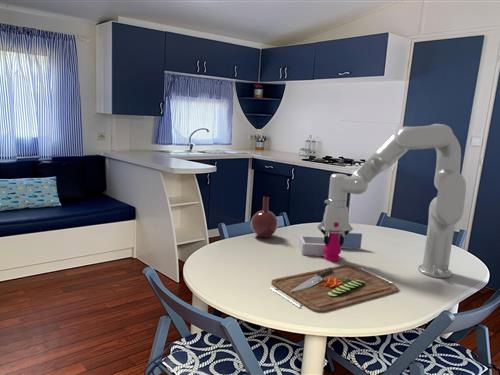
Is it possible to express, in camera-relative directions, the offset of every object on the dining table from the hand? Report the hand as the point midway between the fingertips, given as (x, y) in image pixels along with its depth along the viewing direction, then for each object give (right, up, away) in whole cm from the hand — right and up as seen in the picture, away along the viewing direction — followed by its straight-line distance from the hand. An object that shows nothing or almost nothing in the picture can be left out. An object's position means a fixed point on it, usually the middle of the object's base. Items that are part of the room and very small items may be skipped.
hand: (333, 244), depth 178 cm
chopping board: (-5, -12, -27) cm, 30 cm away
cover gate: (+9, -4, +17) cm, 20 cm away
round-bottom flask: (-29, 0, +28) cm, 40 cm away
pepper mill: (-1, -7, +1) cm, 7 cm away
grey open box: (-5, -4, +11) cm, 13 cm away
